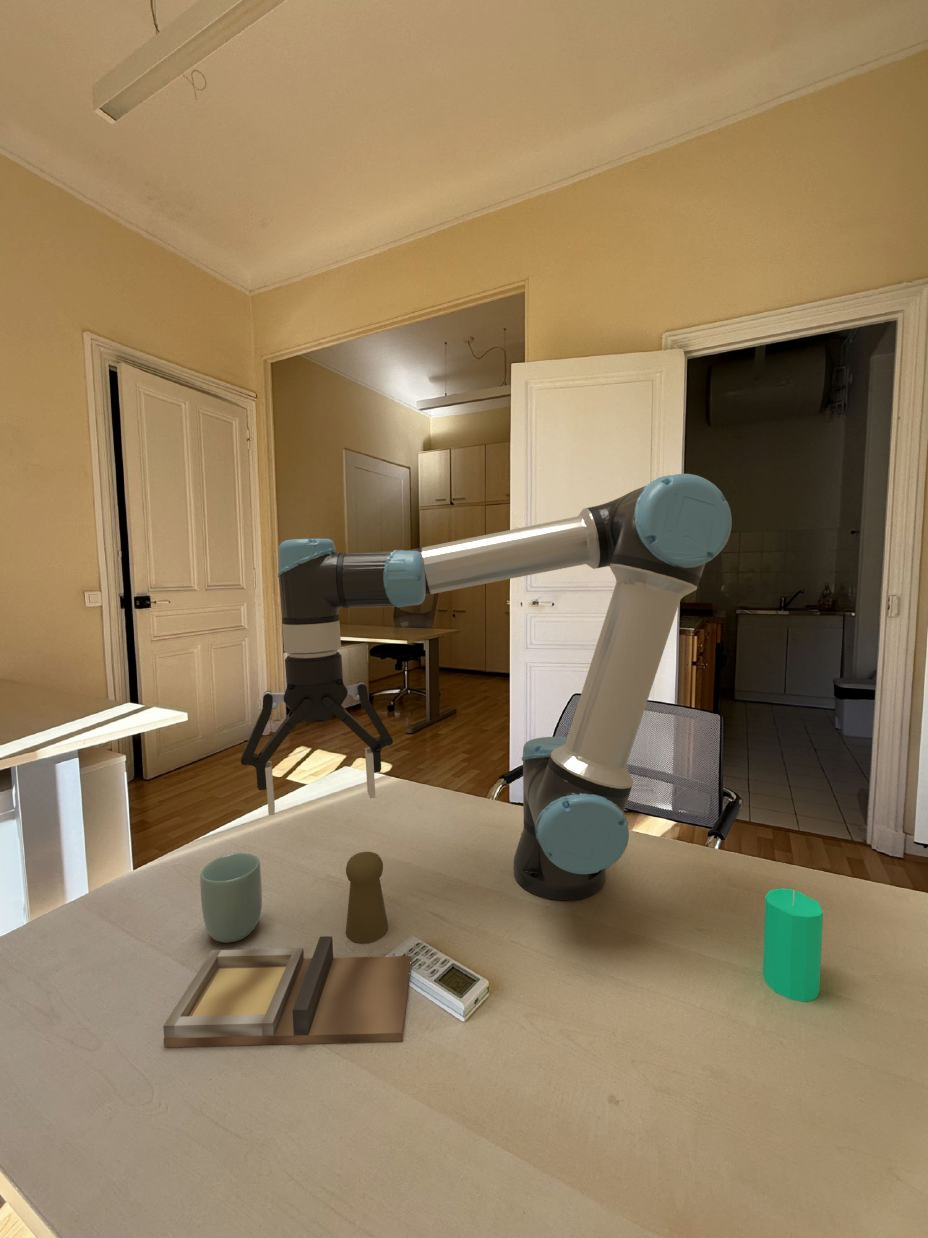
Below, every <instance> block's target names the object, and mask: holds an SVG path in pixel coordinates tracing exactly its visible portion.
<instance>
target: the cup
mask: <svg viewBox="0 0 928 1238" xmlns="http://www.w3.org/2000/svg"><path fill="white" fill-rule="evenodd" d="M199 877H200V878H199V882H200V883H199V885H200V886H199V887H200V896H201V897H200V899H201V908H202V909H201V910H202V916H203V922H204V927H205V928H206V931H207V933H208V934H209V936H210V937H211V938H212V939H213V940H215V941H217V942H219V943H220V942H221V943H225V944H227V943H228V944H229V943H231V944H232V943H235V942H239V941H240V940H243V939H245V938H246V937H247V936H249V935H250V934H251V933H252V932H253V931H254V929H255V928H256V927H257V926H258V923H259V920H260V917H261V913H262V907H263V883H262V866H261V861H260V858H259V857H258V856H257V855H255V854H251V853H247V852H246V853H245V852H235V853H228V854H225V855H223V856H220V857H217V858H215V859H214V860H211V861H210V862H208V863H207V864H206V865H205V866H204V867H203V868H202V870H201V871H200V874H199Z"/></svg>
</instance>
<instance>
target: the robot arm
mask: <svg viewBox="0 0 928 1238" xmlns="http://www.w3.org/2000/svg"><path fill="white" fill-rule="evenodd" d="M732 518H733V517H732V512H731V508H730V505H729V503H728V501H727V499H726V497H725V496H724V494H723V492H722V491H721V490H720V489H719V488H718V487H717V485H715V484H714V483H713V482H711V481H710V480H708V479H706V478H704V477H702V476H700V475H696V474H693V473H692V474H691V473H677V474H676V473H675V474H670V475H663V476H659V477H658V478H656V479H653V480H652V481H650V483H648V484H646V485H644V486H641V487H639V488H636V489H634V490H632V491H630V492H628V493H626V494H624V495H622V496H620V497H618V498H615V499H612V500H610V501H608V502H605V503H603V504H598V505H595V506H589V507H584V508H582V510H581V511H580V512H579V514H578V515H577V516H573V517H568V518H562V519H559V520H553V521H549V522H543V523H539V524H534V525H528V526H524V527H519V528H518V527H517V528H514V529H509V530H504V531H500V532H499V531H498V532H494V533H489V534H488V533H487V534H484V535H478V536H473V537H467V538H463V539H458V540H453V541H449V542H443V543H438V544H434V545H428V546H424V547H420V548H413V549H408V550H404V549H394V550H382V551H380V550H379V551H365V552H364V551H363V552H338V551H337V548H336V545H335V542H334V540H332V539H330V538H295V539H293V538H292V539H286V540H283V541H282V542H281V543H280V544H279V546H278V558H277V559H278V573H277V578H278V583H279V584H278V585H279V596H280V607H281V616H282V618H281V620H282V621H281V624H282V625H281V627H282V641H283V651H284V653H286V654H288V655H287V656H286V657H285V658H284V668H285V669H284V670H285V682H286V683H285V685H286V687H285V690H284V692H273V691H272V690H265V692H264V693H263V696H262V709H261V711H260V713H259V715H258V717H257V720H256V722H255V724H254V726H253V728H252V731H251V733H250V736H249V738H248V739H247V743H246V744H245V747H244V750H243V751H242V754H241V758H240V764H241V765H243V766H253V767H254V768H255V772H256V783H257V784H256V785H257V789H258V791H266V798H267V799H266V800H267V809H268V810H267V812H268V816H272V815H273V816H274V815H275V814H276V813H275V811H276V808H275V807H276V805H275V803H276V802H275V791H274V778H273V775H274V774H273V766H272V764H273V763H272V761H270V759H271V758H272V756H273V755H275V753H276V751H277V750H278V748H279V747H280V746H281V744H282V743H283V742H284V741H285V740H286V738H287V736H288V735H290V733H291V732H292V731H293V729H294V728H295V727H296V726H297V724H298V723H299V722H300V720H301V721H303V722H306V723H313V722H315V721H330V719H332V718H333V717H334V716H335V717H336V718H338V719H339V720H340V721H341V722H342V723H344V725H345V726H347V727H348V728H349V729H350V730H351V731H352V732H353V733H354V735H356V736H357V737H358V738H359V739H361V741H362V742H364V743H365V744H366V746H368V747H365V748H364V752H365V753H364V755H365V770H366V772H365V773H366V789H367V791H366V792H367V795H368V796H369V798H370V799H375V798H376V786H375V785H376V783H375V774H376V773H381V770H382V756H381V752H382V750H383V748H385V747H387V746H391V745H392V744H393V743H394V740H393V738H392V736H391V735H390V733H389V731H388V729H387V727H386V726H385V725H384V723H383V721H382V719H381V717H380V716H379V714H378V713H377V711H376V708H374V706H373V704H372V703H371V701H370V700H369V694H368V689H367V685H365V683H364V682H363V681H361V680H360V681H357V682H356V683H355V684H350V685H345V683H344V676H343V674H344V673H343V659H342V654H341V653H340V652H339V651H338V650H340V648H342V641H341V626H340V625H341V624H340V614H339V613H340V609H350V608H354V609H355V608H388V607H389V608H391V607H396V608H403V607H410V606H411V607H412V606H420V605H421V604H422V603H424V601H425V599H426V596H429V595H433V594H440V593H444V592H449V591H454V590H459V589H465V588H469V587H470V588H471V587H474V586H480V585H484V584H485V585H486V584H490V583H496V582H500V581H506V580H510V579H516V578H522V577H527V576H530V575H531V576H532V575H535V574H541V573H547V572H552V571H557V570H563V569H568V568H572V567H578V566H583V565H586V566H588V567H589V568H592V569H593V570H595V569H602V568H605V567H609V568H610V570H611V573H613V575H614V578H615V581H616V582H615V586H614V588H613V592H612V594H611V595H612V596H611V598H610V601H609V604H608V607H607V610H606V613H605V618H604V620H603V624H602V626H601V629H600V633H599V636H598V639H597V643H596V647H595V649H594V652H593V656H592V658H591V661H590V665H589V669H588V671H587V674H586V678H585V680H584V684H583V688H582V690H581V693H580V696H579V700H578V703H577V706H576V709H575V713H574V716H573V719H572V722H571V725H570V729H569V732H568V736H543V737H537V738H532V739H530V740H528V741H526V742H525V744H523V747H522V756H521V761H522V775H523V776H522V783H523V784H522V785H523V786H522V787H523V788H522V790H523V793H522V795H523V796H522V797H523V805H522V806H523V812H522V813H523V829H522V832H521V834H520V838H519V841H518V844H517V847H516V850H515V853H514V856H513V857H514V858H513V876H514V879H515V880H516V882H517V883H518V884H519V885H520V886H521V887H522V888H523V889H524V890H526V891H528V892H529V893H531V894H533V895H536V896H539V897H541V898H546V899H548V900H549V899H550V900H556V901H575V900H581V899H585V898H588V897H590V896H591V897H592V896H593V895H595V894H596V893H598V892H600V890H601V889H602V888H603V887H604V885H605V883H606V869H609V868H610V867H612V866H613V865H615V864H616V863H617V862H618V861H619V860H620V859H621V857H622V856H623V855H624V853H625V851H626V849H627V847H628V843H629V837H630V832H629V831H630V829H629V822H628V820H627V816H626V815H625V809H626V807H627V803H628V800H629V798H630V794H631V791H632V788H633V786H634V785H633V784H634V780H633V777H632V775H631V774H630V772H629V769H628V767H627V765H628V762H629V759H630V755H631V753H632V749H633V747H634V743H635V741H636V740H635V739H636V737H637V735H638V734H637V733H638V730H639V727H640V724H641V722H642V718H643V715H644V712H645V709H646V706H647V703H648V700H649V697H650V694H651V691H652V688H653V685H654V681H655V678H656V675H657V673H658V669H659V667H660V663H661V661H662V657H663V655H664V650H665V648H666V644H667V642H668V639H669V636H670V632H671V629H672V626H673V623H674V619H675V618H676V616H677V615H676V614H677V611H678V608H679V606H680V602H681V600H682V599H683V598H684V597H685V596H688V595H690V594H691V593H693V592H694V591H697V589H698V586H699V583H700V581H701V578H702V575H703V573H704V569H705V566H706V564H707V563H709V562H710V561H712V560H713V559H714V558H715V557H717V556H718V555H719V554H720V552H721V551H723V549H724V548H725V546H726V545H727V543H728V541H729V539H730V536H731V532H732V526H733V524H732V522H733V521H732ZM348 695H350V696H352V699H354V700H355V701H359V703H360V705H361V706H362V708H363V709H364V711H365V712H366V714H367V716H368V718H369V719H370V721H371V723H372V725H373V726H374V728H375V730H376V732H377V733H378V734H379V736H378V737H377V738H376V737H375V736H374V735H372V734H371V733H370V731H369V730H367V729H366V727H364V726H363V724H361V723H360V722H359V721H358V720H357V719H356V718H355V717H353V715H351V713H349V711H347V709H346V707H344V706H342V704H343V703H344V702H345V700H346V698H347V697H348ZM282 702H283V703H284V704H285V705H286V706H287V707H288V708H289V709H290V711H289V713H287V715H286V716H285V719H284V720H283V721H282V723H281V724H279V726H278V728H277V729H276V730H275V732H274V733H273V734H272V736H271V737H270V739H269V740H268V741H267V742H266V743H265V744H264V746H263V748H262V749H261V750H260V751H259V752H258V753H255V752H256V750H257V747H258V745H259V742H260V741H261V740H262V739H261V738H262V736H263V734H264V731H265V729H266V727H267V724H268V722H269V721H270V718H271V715H272V712H273V710H276V709H278V708H279V705H280V704H281V703H282Z"/></svg>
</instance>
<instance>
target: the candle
mask: <svg viewBox="0 0 928 1238" xmlns="http://www.w3.org/2000/svg"><path fill="white" fill-rule="evenodd" d="M764 897H765V898H764V925H763V951H762V952H763V956H762V957H763V959H762V975H763V979H764V982H765V984H767V986H768V987H770V988H771V989H772V990H773V991H774V992H775V993H777V994H779V995H781V996H782V997H784V998H786V999H789V1000H794V1001H797V1002H798V1001H799V1002H802V1003H805V1002H810V1001H815V1000H816V999H817V998H818V995H819V994H820V991H821V990H820V989H821V968H822V941H823V918H824V912H823V910H822V907H821V904H820V902H819V901H817V900H815V899H813V898H811V897H809V896H808V895H805V894H804V893H802V892H800V891H798V890H796V889H794V888H783V887H782V888H781V887H780V888H774V889H770V890H769V891H768V892H767V894H765V896H764Z"/></svg>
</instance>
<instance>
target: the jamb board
mask: <svg viewBox="0 0 928 1238" xmlns="http://www.w3.org/2000/svg"><path fill="white" fill-rule="evenodd" d="M333 939H334V938H333V936H332V935H331V936H327V935H326V936H322V935H321V936H320V937H319V938H318V940H317V941H318V942H317V944H316V947H315V949H314V952H313V954H312V957H311V958H310V957H309V958H307V957H306V958H304V957H305V955H304V954H305V953H304V952H305V951H304V947H295V948H294V947H292V948H286V947H285V948H257V949H256V948H252V949H250V948H249V949H216V950H215V949H213V950H211V952H209V954H208V956H207V958H206V960H204V962H203V964H202V966H200V969H199V970H198V971H197V973H196V974H195V976H194V978H193V979H192V981H191V982H190V984H189V985H188V987H187V989H186V990H185V992H184V993H183V995H182V996H181V998H180V999H179V1000H178V1002H177V1004H176V1006H175V1007H174V1008H173V1009H172V1012H171V1014H170V1015H169V1016H168V1018H166V1019H167V1020H166V1021H165V1022H164V1024H163V1025H162V1026H163V1027H162V1029H163V1048H188V1047H189V1048H190V1047H191V1048H195V1047H227V1046H228V1047H231V1046H232V1047H234V1046H268V1045H269V1046H273V1045H277V1046H278V1045H301V1044H302V1045H305V1044H307V1045H310V1044H342V1043H343V1044H344V1043H345V1044H346V1043H347V1044H349V1043H350V1044H351V1043H380V1042H381V1043H385V1042H388V1043H389V1042H403V1035H404V1027H405V1020H406V1019H405V1018H406V1011H407V1004H408V993H409V988H410V978H411V971H410V962H411V963H412V955H392V956H390V955H389V956H385V955H384V956H353V957H352V956H351V957H334V944H333V942H334V941H333ZM409 973H410V974H409Z"/></svg>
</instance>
